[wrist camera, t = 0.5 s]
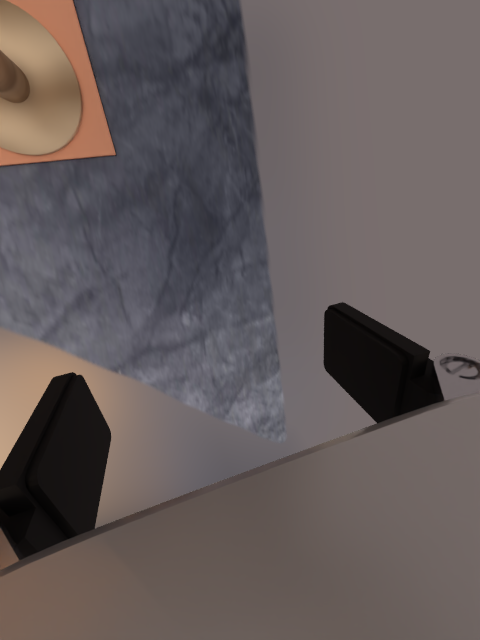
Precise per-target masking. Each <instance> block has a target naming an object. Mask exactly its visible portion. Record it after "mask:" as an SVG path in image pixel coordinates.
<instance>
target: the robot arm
mask: <svg viewBox="0 0 480 640" xmlns="http://www.w3.org/2000/svg"><path fill="white" fill-rule="evenodd" d="M429 353H430V351H429V350H427V349H425V348H424V347H422V346H420V345H418V344H417V343H415V342H413V341H411V340H410V339H408V338H406V337H404V336H403V335H401V334H399V333H397V332H395V331H394V330H392V329H390V328H388V327H387V326H385V325H383V324H381V323H379V322H378V321H376V320H374V319H372V318H370V317H368V316H367V315H365V314H363V313H362V312H360V311H358V310H356V309H355V308H353V307H351V306H349V305H347V304H346V303H338V304H335V305H331V306H329V307H328V309H327V310H326V311H325V315H324V367H325V369H326V371H327V372H328V373H329V374H330V375H331V376H332V377H333V378H334V379H335V380H336V381H337V383H339V384H340V386H341V387H342V388H343V389H345V391H346V392H347V393H349V395H350V396H351V397H352V398H353V399H354V400H355V401H356V402H357V403H358V404H359V405H360V406H361V407H362V408H363V409H364V410H365V411H366V412H367V413H368V414H369V415H370V416H371V417H372V418H373V419H374V420H375V421H376V422H377V424H374V425H372V426H369V427H366V428H363V429H361V430H358V431H355V432H352V433H350V434H347V435H345V436H341V437H339V438H336V439H333V440H330V441H328V442H325V443H322V444H319V445H317V446H314V447H311V448H308V449H306V450H303V451H300V452H298V453H295V454H292V455H289V456H287V457H284V458H281V459H279V460H276V461H273V462H270V463H268V464H265V465H262V466H260V467H257V468H254V469H252V470H249V471H246V472H243V473H241V474H238V475H235V476H233V477H230V478H227V479H224V480H222V481H219V482H217V483H214V484H211V485H208V486H206V487H203V488H200V489H198V490H195V491H192V492H190V493H187V494H184V495H182V496H179V497H177V498H174V499H171V500H169V501H166V502H163V503H160V504H158V505H155V506H153V507H150V508H147V509H145V510H142V511H139V512H137V513H134V514H131V515H129V516H126V517H124V518H121V519H119V520H116V521H113V522H111V523H108V524H106V525H103V526H101V527H98V528H96V529H94V528H95V523H96V517H97V512H98V506H99V501H100V496H101V490H102V485H103V480H104V474H105V469H106V464H107V458H108V453H109V447H110V442H111V432H110V429H109V427H108V425H107V423H106V421H105V419H104V417H103V415H102V413H101V411H100V409H99V407H98V405H97V403H96V401H95V399H94V397H93V395H92V394H91V391H90V389H89V387H88V385H87V383H86V382H85V380H84V378H83V376H82V375H76V374H75V373H73V372H72V373H68V374H64V375H61V376H56V377H54V378H53V379H52V380H51V382H50V384H49V385H48V387H47V389H46V391H45V393H44V394H43V396H42V398H41V399H40V401H39V403H38V405H37V406H36V408H35V410H34V412H33V413H32V415H31V417H30V419H29V421H28V422H27V424H26V426H25V428H24V429H23V431H22V433H21V434H20V436H19V438H18V440H17V442H16V443H15V445H14V447H13V448H12V450H11V452H10V454H9V456H8V457H7V459H6V461H5V463H4V464H3V466H2V468H1V470H0V640H480V360H478V359H476V358H473V357H470V356H467V355H461V354H451V353H448V354H441V355H439V356H437V357H436V358H435V359H434V361H432V360H430V359H429V358H428V357H429Z"/></svg>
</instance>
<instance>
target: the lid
mask: <svg viewBox="0 0 480 640" xmlns="http://www.w3.org/2000/svg"><path fill="white" fill-rule="evenodd" d="M81 119H82V95H81V90H80V86H79V82H78V80H77V77H76V74H75V72H74V70H73V68H72V65H71V63H70V62H69V60H68V58H67V57H66V55H65V53H64V52H63V50H62V49H61V47H60V46H59V44H58V43H57V42H56V40H55V39H54V38H53V36H52V35H51V34H50V33H49V32H48V31H47V29H45V28H44V27H43V26H42V25H41V24H40V23H39V22H38V21H37V20H36V19H35V18H33V17H32V16H31V15H30V14H29V13H27V12H26V11H24V10H23V9H21V8H20V7H18V6H16V5H14V4H12V3H11V2H9V1H7V0H0V147H1V148H4V149H7V150H9V151H12V152H16V153H20V154H24V155H32V156H42V155H48V154H52V153H55V152H57V151H59V150H61V149H63V148H64V147H65V146H67V145H68V144H69V143H70V142H71V141H72V140H73V138H74V137H75V135H76V133H77V131H78V129H79V127H80V123H81Z"/></svg>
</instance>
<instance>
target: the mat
mask: <svg viewBox="0 0 480 640" xmlns="http://www.w3.org/2000/svg"><path fill="white" fill-rule="evenodd" d="M7 1H9V2H11V3H12V4H14V5H16V6H18V7H20V8H21V9H23V10H24V11H26V12H27V13H29V14H30V15H31V16H32V17H33V18H35V19H36V20H37V21H38V22H39V23H40V24H41V25H42V26H43V27H44V28H45V29H47V31H48V32H49V33H50V34H51V35H52V36H53V38H54V39H55V40H56V42H57V43H58V44H59V46H60V47H61V49H62V50H63V52H64V53H65V55H66V57H67V58H68V60H69V62H70V63H71V65H72V68H73V70H74V72H75V74H76V77H77V80H78V82H79V86H80V90H81V95H82V119H81V123H80V127H79V129H78V131H77V133H76V135H75V137H74V138H73V140H72V141H71V142H70V143H69V144H68V145H67V146H65V147H64V148H63V149H61V150H59V151H57V152H55V153H52V154H48V155H42V156H32V155H24V154H20V153H16V152H12V151H9V150H7V149H4V148H1V147H0V166H8V165H19V164H29V163H40V162H50V161H61V160H71V159H82V158H92V157H103V156H113V155H116V153H115V149H114V146H113V142H112V138H111V135H110V131H109V128H108V124H107V120H106V117H105V113H104V110H103V106H102V103H101V99H100V95H99V92H98V88H97V85H96V81H95V77H94V74H93V70H92V67H91V63H90V60H89V56H88V52H87V49H86V45H85V42H84V38H83V34H82V31H81V27H80V24H79V20H78V17H77V13H76V9H75V6H74V2H73V0H7Z"/></svg>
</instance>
